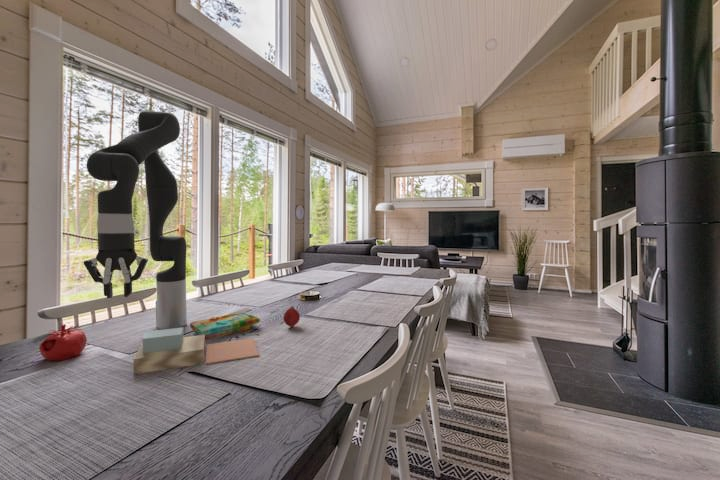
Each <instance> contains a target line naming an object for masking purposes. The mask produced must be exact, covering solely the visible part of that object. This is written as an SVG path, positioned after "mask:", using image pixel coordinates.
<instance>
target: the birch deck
mask: <svg viewBox="0 0 720 480" xmlns="http://www.w3.org/2000/svg"><path fill="white" fill-rule="evenodd" d="M205 351H206V340H205V335H197V334H196V335H189V336H184V341H183V345H182V348H181V349H173V350H166V351H159V352H151V353H144V354H143V342H142V343H141V345H140V347H139V349H138V350H137V352H136V354H135V356H134V357H133V361H132V362H133V375H138V374H144V373H145V374H146V373H152V372H157V371H163V370H165V371H166V370H170V369H177V368H184V367H189V366H195V365H196V366H197V365H202V364H204V363H205V353H206V352H205Z"/></svg>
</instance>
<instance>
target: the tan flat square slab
mask: <svg viewBox="0 0 720 480" xmlns="http://www.w3.org/2000/svg"><path fill="white" fill-rule="evenodd" d="M205 351H206V352H205V353H206V354H205V365H206V366H207V365H212V364H218V363H224V362H230V361H237V360H244V359H250V358H257V357H259V355H260V354H259V351H258V348H257V344H256V342H255V338H253V337H252V338H244V339H238V340H237V339H236V340H230V341H224V342H223V341H221V342H215V343H208V344H206V349H205Z"/></svg>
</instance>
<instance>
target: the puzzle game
mask: <svg viewBox="0 0 720 480" xmlns="http://www.w3.org/2000/svg"><path fill="white" fill-rule="evenodd" d="M260 322H261V319H260V318H259V317H258V316H255V315H252V314H250V313H249V312H246V311H241V312H237V313H236V312H235V313H232V314H231V313H230V314H226V315H221V316H211V318H207V319H201V320H200V319H199V320H196V321H192V322H190V323H189V328H190V329H191V330H192V332H193V333H194V334H196V336H197V335H205V341H209V340H212V339H216V338H220V337H225V336H228V335H233V334H236V333H240V332H243V331H248V330H249V329H250V328H251V326H253V325H255V324H258V323H260Z"/></svg>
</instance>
